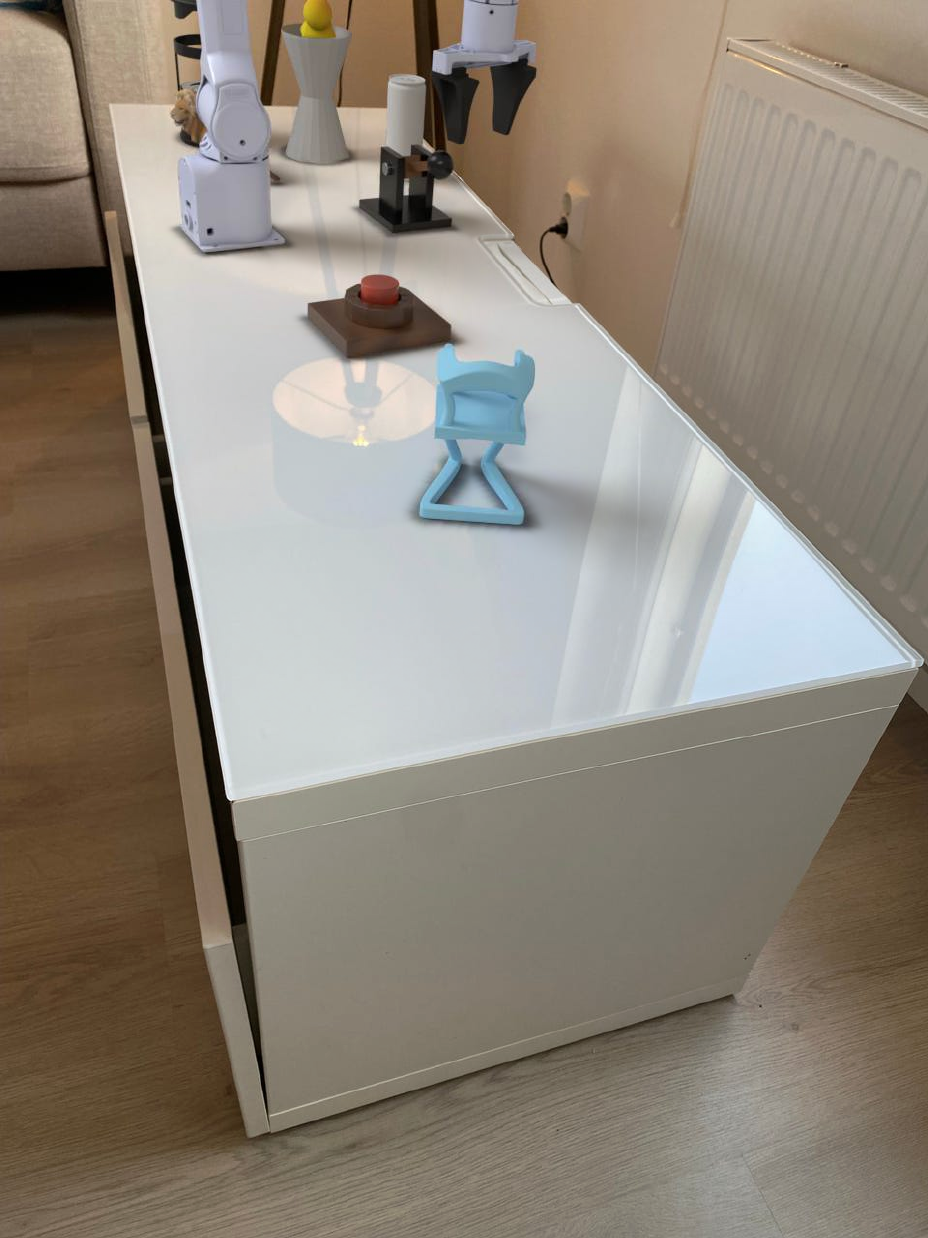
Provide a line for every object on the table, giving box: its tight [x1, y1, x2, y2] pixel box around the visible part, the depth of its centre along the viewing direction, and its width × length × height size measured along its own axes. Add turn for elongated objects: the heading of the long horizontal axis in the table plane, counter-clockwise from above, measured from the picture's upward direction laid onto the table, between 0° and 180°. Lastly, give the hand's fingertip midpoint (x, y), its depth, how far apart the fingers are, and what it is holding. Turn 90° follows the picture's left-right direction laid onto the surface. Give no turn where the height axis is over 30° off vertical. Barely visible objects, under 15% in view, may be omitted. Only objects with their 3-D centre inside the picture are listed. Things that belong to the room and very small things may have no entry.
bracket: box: [358, 144, 453, 234], centre depth 119 cm, size 9×8×8 cm
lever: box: [404, 149, 455, 181], centre depth 115 cm, size 11×3×3 cm, turn 30°
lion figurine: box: [169, 89, 282, 182], centre depth 126 cm, size 15×5×9 cm, turn 70°
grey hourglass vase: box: [280, 0, 353, 163], centre depth 127 cm, size 9×9×35 cm
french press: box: [170, 0, 202, 148], centre depth 132 cm, size 12×9×23 cm
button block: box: [307, 282, 452, 359], centre depth 96 cm, size 11×9×4 cm
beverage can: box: [385, 73, 427, 183], centre depth 130 cm, size 5×5×12 cm
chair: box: [419, 343, 536, 526], centre depth 73 cm, size 8×8×12 cm
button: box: [360, 273, 400, 305], centre depth 95 cm, size 4×4×2 cm
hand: (478, 137), depth 115 cm, fingers open, 7 cm apart
